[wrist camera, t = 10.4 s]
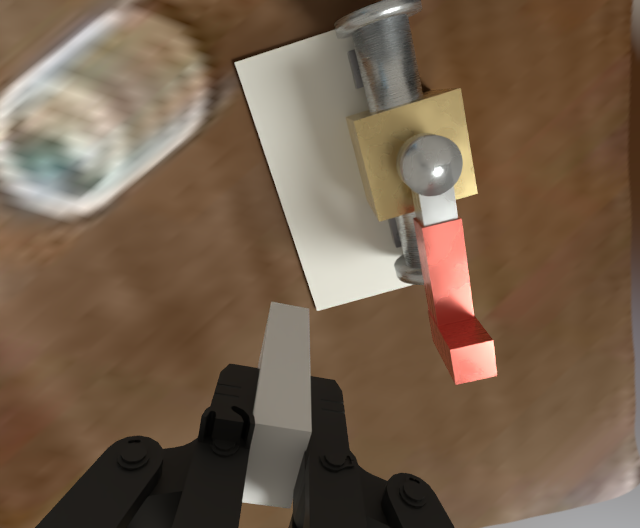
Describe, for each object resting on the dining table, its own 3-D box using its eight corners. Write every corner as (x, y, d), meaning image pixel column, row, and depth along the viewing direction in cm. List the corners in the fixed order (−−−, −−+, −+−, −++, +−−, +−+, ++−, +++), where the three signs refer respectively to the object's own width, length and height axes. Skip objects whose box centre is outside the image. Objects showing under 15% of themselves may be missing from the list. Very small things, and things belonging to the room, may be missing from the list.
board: (235, 62, 37) (234, 62, 37) (403, 7, 36) (404, 6, 36) (317, 309, 46) (317, 310, 46) (454, 271, 45) (455, 272, 44)
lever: (391, 140, 31) (410, 150, 25) (446, 126, 30) (478, 132, 25) (426, 341, 37) (448, 386, 31) (473, 330, 36) (504, 374, 31)
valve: (323, 33, 37) (328, 13, 28) (415, 3, 36) (449, -28, 27) (383, 263, 44) (401, 305, 36) (459, 242, 44) (497, 279, 35)
